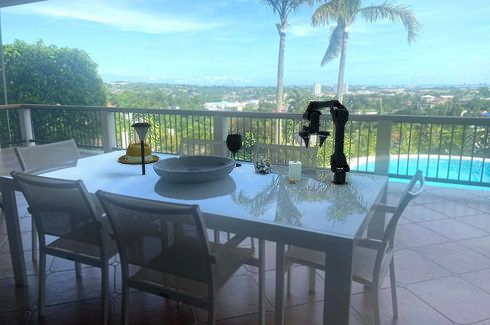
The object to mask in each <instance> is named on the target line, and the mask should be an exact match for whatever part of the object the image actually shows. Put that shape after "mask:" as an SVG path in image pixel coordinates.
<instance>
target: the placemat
mask: <svg viewBox="0 0 490 325" xmlns="http://www.w3.org/2000/svg"><path fill="white" fill-rule="evenodd" d="M309 180H310V177H307V176H306V177H305V176H301V181H296V182H295V183H294V184H291V183H290V182H289V179H288V175H284V176H283V177H282V178H281V179H280V180H279V181H278V182H277V183H276V184H275V185H276V186H283V187H284V186H285V187H294V188H303V187H304V186H305V184H307V182H308V181H309Z"/></svg>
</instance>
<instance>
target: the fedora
mask: <svg viewBox="0 0 490 325" xmlns="http://www.w3.org/2000/svg"><path fill="white" fill-rule="evenodd" d="M144 155H145V164H150V163H153V162H156V161H158V160H159V159H160V157H159V156H158V155H156V154H155V155H154V154H153V153H152V149H151V146H150V145H149V143H146V142H144ZM117 161H118V162H120V163H124V164H129V165H130V164H134V165H142V158H141V142H135V143H134V142H133V143H129V144H128V145H127V148H126V151H125V154H124V155H121V156H119V157H118V159H117Z"/></svg>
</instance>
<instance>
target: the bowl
mask: <svg viewBox="0 0 490 325" xmlns="http://www.w3.org/2000/svg"><path fill="white" fill-rule="evenodd" d="M289 182H290V183H291V184H294V183H295V182H296V178H289Z"/></svg>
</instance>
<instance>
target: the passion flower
mask: <svg viewBox="0 0 490 325" xmlns="http://www.w3.org/2000/svg"><path fill="white" fill-rule="evenodd" d="M259 157H260V160H256V163H255V164H256V166H255V169H257V171H256V172H257V173H258V172H259V170H260V169H261V170H262V171H264V174H270V173H271V172H273V164H272V161H271V159H267V158H265V157H262V156H259Z"/></svg>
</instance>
